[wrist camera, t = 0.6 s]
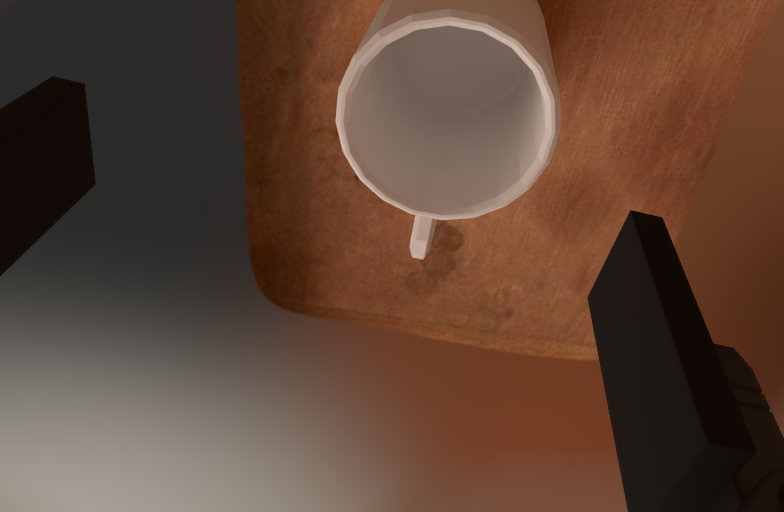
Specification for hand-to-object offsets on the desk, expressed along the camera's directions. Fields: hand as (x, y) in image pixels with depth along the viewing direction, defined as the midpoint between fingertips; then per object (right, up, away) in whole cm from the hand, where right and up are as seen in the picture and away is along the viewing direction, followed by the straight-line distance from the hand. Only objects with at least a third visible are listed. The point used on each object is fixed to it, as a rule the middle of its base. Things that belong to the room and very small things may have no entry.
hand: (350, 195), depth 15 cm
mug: (+4, +7, +17) cm, 19 cm away
